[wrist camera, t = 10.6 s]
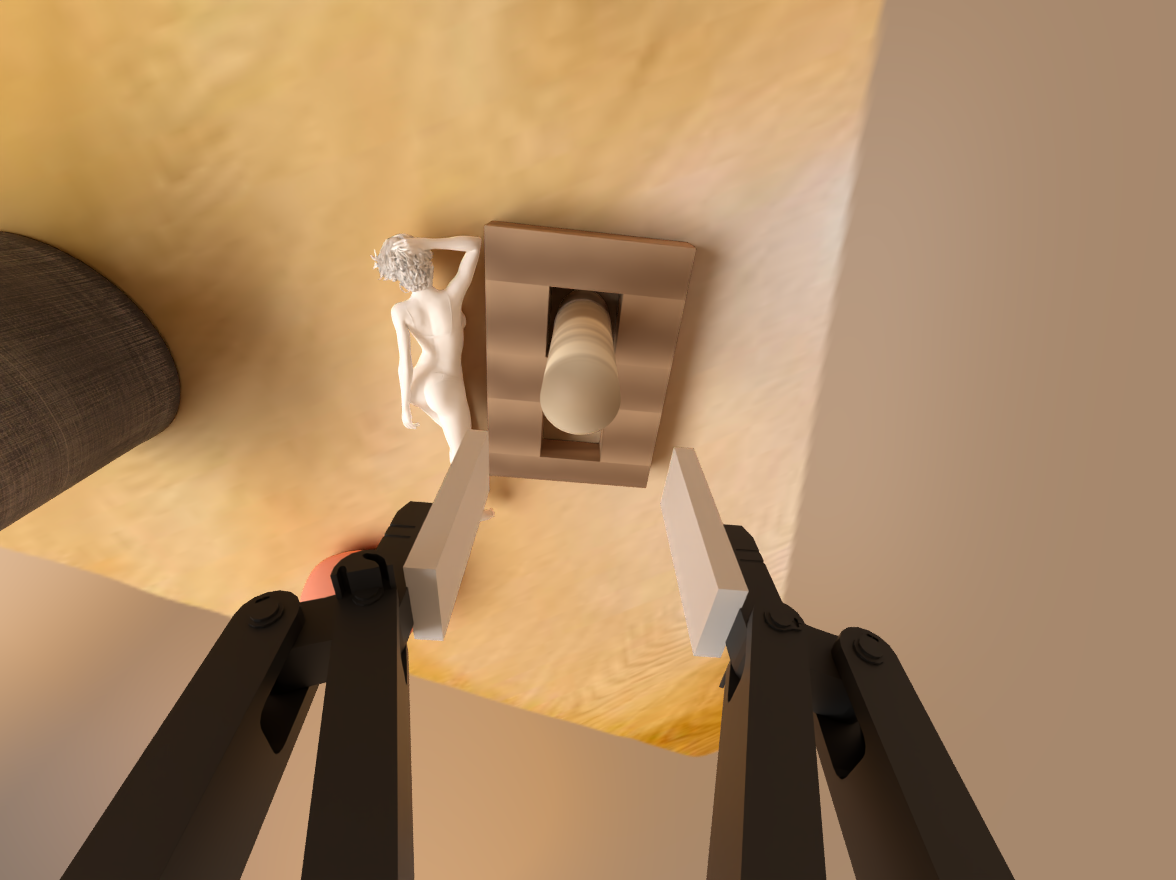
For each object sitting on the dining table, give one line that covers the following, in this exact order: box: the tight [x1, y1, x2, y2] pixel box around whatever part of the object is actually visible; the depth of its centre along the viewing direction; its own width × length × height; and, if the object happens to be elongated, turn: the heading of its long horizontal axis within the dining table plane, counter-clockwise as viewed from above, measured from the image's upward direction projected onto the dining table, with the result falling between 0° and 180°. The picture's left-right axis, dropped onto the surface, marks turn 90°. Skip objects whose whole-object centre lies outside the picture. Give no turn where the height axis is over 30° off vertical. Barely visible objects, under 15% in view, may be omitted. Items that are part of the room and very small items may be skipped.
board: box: [484, 221, 696, 488], centre depth 36 cm, size 20×14×3 cm
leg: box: [540, 290, 621, 435], centre depth 28 cm, size 4×4×15 cm
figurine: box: [370, 234, 495, 522], centre depth 36 cm, size 8×6×25 cm
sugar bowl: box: [300, 550, 413, 634], centre depth 45 cm, size 12×14×10 cm
